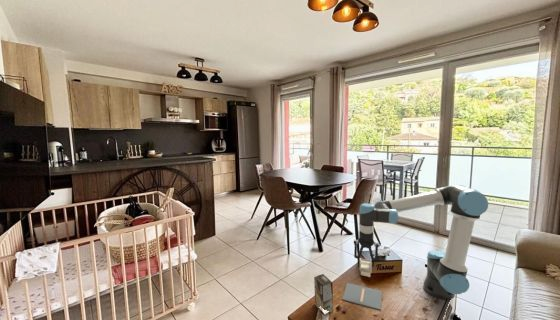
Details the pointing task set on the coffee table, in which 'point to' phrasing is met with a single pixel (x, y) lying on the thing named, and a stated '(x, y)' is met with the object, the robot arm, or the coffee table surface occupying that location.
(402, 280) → the coffee table surface
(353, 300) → the mat
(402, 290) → the coffee table surface
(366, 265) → the cream block
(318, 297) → the coffee box
